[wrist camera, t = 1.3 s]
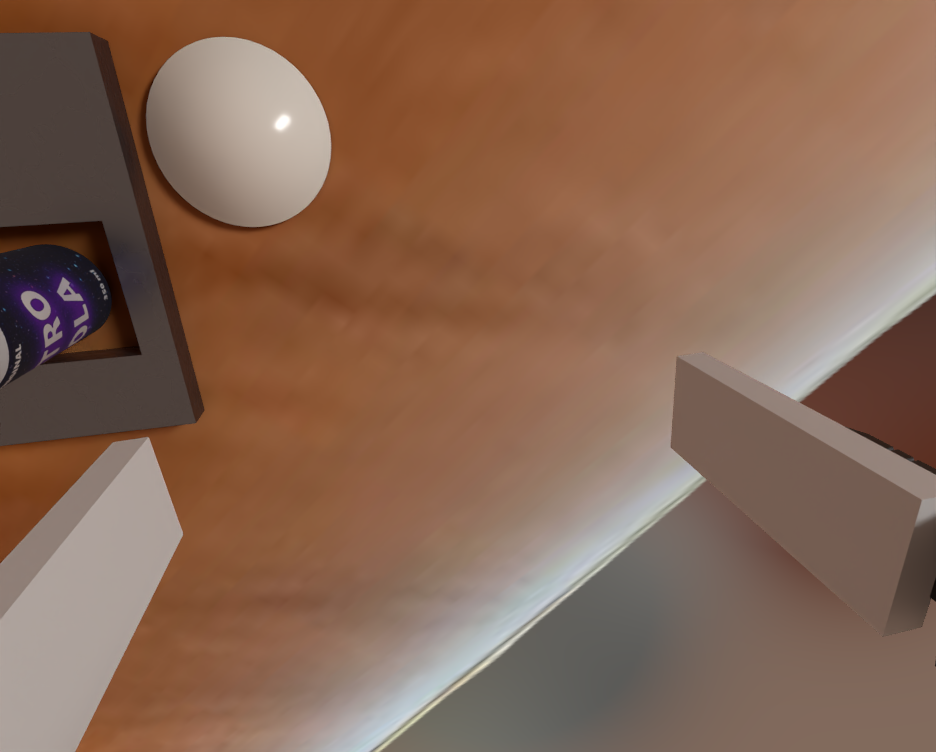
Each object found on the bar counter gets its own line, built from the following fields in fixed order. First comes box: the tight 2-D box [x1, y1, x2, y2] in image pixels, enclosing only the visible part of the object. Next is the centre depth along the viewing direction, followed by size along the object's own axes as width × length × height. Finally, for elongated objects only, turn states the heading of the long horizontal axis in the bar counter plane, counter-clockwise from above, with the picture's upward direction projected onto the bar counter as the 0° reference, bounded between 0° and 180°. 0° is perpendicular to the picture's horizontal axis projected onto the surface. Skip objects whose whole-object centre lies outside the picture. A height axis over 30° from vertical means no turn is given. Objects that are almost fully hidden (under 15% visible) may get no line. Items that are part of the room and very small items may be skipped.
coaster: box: [146, 37, 331, 227], centre depth 31 cm, size 10×10×1 cm
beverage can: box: [0, 244, 112, 389], centre depth 27 cm, size 6×6×12 cm
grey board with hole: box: [0, 32, 204, 446], centre depth 30 cm, size 22×12×2 cm, turn 3°
